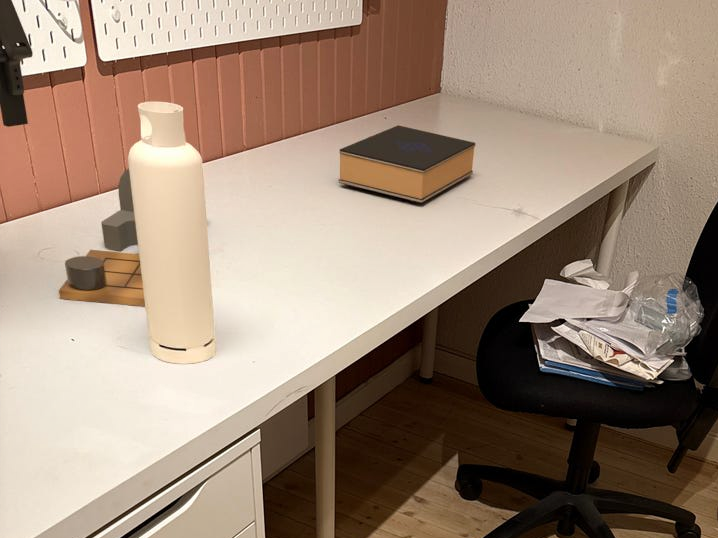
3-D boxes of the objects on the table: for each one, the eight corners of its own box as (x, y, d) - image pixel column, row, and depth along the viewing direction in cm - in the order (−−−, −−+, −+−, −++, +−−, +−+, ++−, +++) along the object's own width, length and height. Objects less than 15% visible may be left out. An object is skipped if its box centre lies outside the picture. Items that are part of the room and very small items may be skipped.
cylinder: (63, 288, 130) (59, 267, 128) (74, 274, 133) (70, 254, 132) (101, 291, 130) (98, 271, 128) (110, 278, 134) (108, 258, 132)
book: (338, 187, 181) (339, 149, 177) (396, 160, 199) (397, 125, 195) (421, 207, 177) (423, 169, 173) (472, 178, 195) (475, 142, 191)
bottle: (140, 342, 123) (109, 99, 105) (199, 332, 127) (179, 96, 109) (167, 368, 118) (140, 118, 100) (227, 356, 122) (211, 115, 104)
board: (60, 298, 130) (58, 289, 129) (91, 257, 142) (90, 248, 141) (180, 309, 132) (179, 300, 131) (201, 268, 144) (200, 259, 143)
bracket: (208, 223, 158) (203, 153, 151) (162, 258, 145) (154, 183, 138) (153, 213, 159) (146, 143, 152) (101, 247, 145) (90, 172, 138)
